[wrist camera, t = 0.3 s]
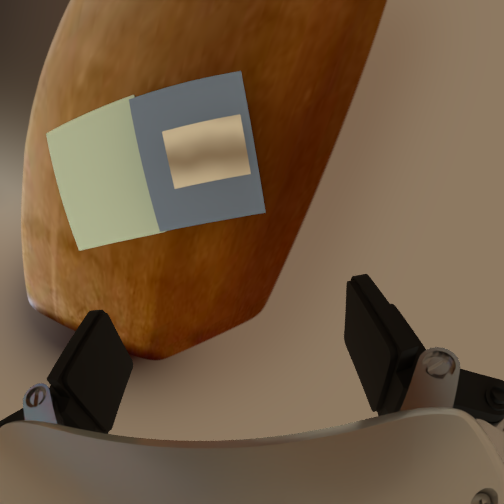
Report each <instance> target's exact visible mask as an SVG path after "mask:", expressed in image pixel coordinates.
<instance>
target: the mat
mask: <svg viewBox="0 0 504 504" xmlns="http://www.w3.org/2000/svg"><path fill="white" fill-rule="evenodd" d="M132 98H135V95H132V96H129V97H126V98H123V99H121V100H118V101H115V102H113V103H110V104H108V105H105V106H103V107H100V108H98V109H96V110H93V111H91V112H89V113H87V114H84V115H82V116H80V117H78V118H76V119H74V120H71V121H69V122H67V123H65V124H63V125H61V126H59V127H57V128H56V129H54V130H52V131H50V132H48V133H46V136H47V141H48V146H49V151H50V156H51V160H52V164H53V169H54V173H55V177H56V181H57V184H58V188H59V192H60V195H61V198H62V202H63V205H64V208H65V211H66V215H67V218H68V221H69V224H70V227H71V229H72V232H73V235H74V238H75V241H76V243H77V246H78V249H79V251H80V250H84V249H89V248H93V247H97V246H102V245H106V244H111V243H115V242H120V241H124V240H129V239H134V238H138V237H143V236H148V235H153V234H158V233H163V232H166V231H163V232H160V230H159V227H158V223H157V220H156V216H155V213H154V209H153V205H152V202H151V198H150V194H149V190H148V186H147V182H146V178H145V174H144V170H143V166H142V162H141V158H140V153H139V149H138V144H137V140H136V135H135V130H134V125H133V120H132V115H131V109H130V104H129V99H132Z"/></svg>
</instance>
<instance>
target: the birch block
mask: <svg viewBox="0 0 504 504" xmlns="http://www.w3.org/2000/svg"><path fill="white" fill-rule="evenodd" d="M162 135H163V139H164V144H165V149H166V153H167V158H168V162H169V167H170V171H171V175H172V180H173V184H174V188H175V189H177V188H182V187H186V186H191V185H196V184H200V183H205V182H210V181H215V180H220V179H226V178H231V177H237V176H242V175H248V174H251V171H250V166H249V160H248V154H247V149H246V143H245V137H244V132H243V126H242V121H241V115H240V114H239V115H233V116H228V117H223V118H217V119H213V120H208V121H203V122H199V123H194V124H190V125H186V126H182V127H178V128H174V129H170V130H166V131H163V132H162Z"/></svg>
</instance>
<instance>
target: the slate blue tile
mask: <svg viewBox="0 0 504 504" xmlns="http://www.w3.org/2000/svg"><path fill="white" fill-rule="evenodd" d="M129 104H130V109H131V115H132V120H133V125H134V130H135V135H136V140H137V144H138V149H139V153H140V158H141V162H142V166H143V170H144V174H145V178H146V182H147V186H148V190H149V194H150V198H151V202H152V205H153V209H154V213H155V216H156V220H157V223H158V227H159V230H160V232H163V231H168V230H173V229H178V228H183V227H188V226H193V225H199V224H204V223H209V222H215V221H220V220H226V219H231V218H237V217H243V216H249V215H254V214H260V213H266V212H265V206H264V199H263V193H262V187H261V181H260V175H259V169H258V163H257V157H256V151H255V146H254V140H253V134H252V128H251V123H250V117H249V112H248V106H247V101H246V95H245V90H244V84H243V79H242V74H241V71H238V72H232V73H227V74H221V75H216V76H211V77H207V78H202V79H198V80H193V81H189V82H185V83H181V84H177V85H174V86H170V87H167V88H163V89H160V90H156V91H153V92H150V93H147V94H144V95H141V96H138V97H135V98H132V99H129ZM239 114H240V115H241V121H242V126H243V132H244V137H245V143H246V149H247V154H248V160H249V166H250V171H251V174H248V175H242V176H237V177H231V178H226V179H220V180H215V181H210V182H205V183H200V184H196V185H191V186H186V187H182V188H177V189H175V188H174V184H173V180H172V175H171V171H170V167H169V162H168V158H167V153H166V149H165V144H164V139H163V135H162V132H163V131H166V130H170V129H174V128H178V127H182V126H186V125H190V124H194V123H199V122H203V121H208V120H213V119H217V118H223V117H228V116H233V115H239Z"/></svg>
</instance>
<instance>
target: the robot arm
mask: <svg viewBox="0 0 504 504" xmlns="http://www.w3.org/2000/svg"><path fill="white" fill-rule="evenodd" d="M344 340H345V344H346V346H347V349H348V351H349V354H350V356H351V359H352V361H353V364H354V366H355V369H356V371H357V374H358V376H359V379H360V381H361V383H362V386H363V389H364V391H365V394H366V396H367V399H368V402H369V404H370V407H371V409H372V411H373V412H375V411H377V412H378V415H379V416H378V417H374V418H369V419H365V420H361V421H357V422H354V423H349V424H345V425H340V426H336V427H330V428H326V429H320V430H315V431H309V432H303V433H298V434H291V435H283V436H275V437H267V438H256V439H244V440H225V441H173V440H156V439H144V438H134V437H125V436H118V435H111V434H108V432H109V431H110V430H111V429H112V426H113V423H114V420H115V417H116V414H117V411H118V408H119V405H120V402H121V399H122V396H123V393H124V390H125V388H126V385H127V382H128V379H129V377H130V374H131V371H132V368H133V362H132V359H131V357H130V356H129V354H128V352H127V350H126V348H125V346H124V345H123V343H122V341H121V339H120V337H119V335H118V333H117V331H116V329H115V327H114V325H113V323H112V321H111V319H110V317H109V315H108V314H107V313H105V312H104V311H103V310H93V311H89V312H88V314H87V315H86V317H85V318H84V320H83V321H82V323H81V324H80V326H79V327H78V329H77V330H76V332H75V334H74V335H73V336H72V338H71V339H70V341H69V343H68V344H67V346H66V347H65V349H64V351H63V352H62V354H61V356H60V357H59V359H58V361H57V362H56V364H55V365H54V367H53V369H52V371H51V372H50V374H49V376H48V377H47V380H48V382H49V383H50V384H51V386H50V388H49V387H48V386H47V385H46V384H43V383H39V384H36V385H33V386H32V387H30V389H28V390H27V392H26V393H25V395H24V398H23V408H22V409H21V410H19V411H17V412H15V413H13V414H12V415H10V416H8V417H6V418H5V419H3V420H1V421H0V504H504V381H503V380H500V379H496V378H492V377H488V376H485V375H480V374H477V373H474V372H470V371H466V370H463V369H460V362H459V360H458V358H457V356H456V355H455V354H454V353H453V352H451V351H450V350H448V349H445V348H439V347H435V348H430V349H427V350H426V349H425V347H424V346H423V344H422V343H421V341H420V340H419V339H418V337H417V336H416V334H415V333H414V331H413V330H412V329H411V327H410V326H409V324H408V323H407V322H406V320H405V319H404V317H403V316H402V314H401V313H400V312H399V311H398V309H397V308H396V307H395V305H393V304H389V302H388V301H387V300H386V298H385V297H384V295H383V294H382V293H381V292H380V290H379V289H378V287H377V286H376V285H375V283H374V282H373V281H372V280H371V278H370V277H369V276H368V275H367V274H363V275H358V276H353V277H352V278H351V281H348V282H347V290H346V315H345V331H344Z"/></svg>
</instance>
